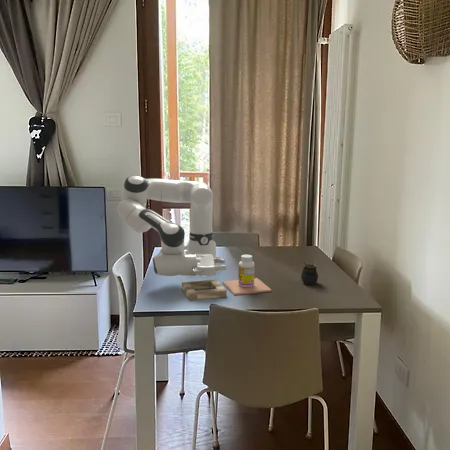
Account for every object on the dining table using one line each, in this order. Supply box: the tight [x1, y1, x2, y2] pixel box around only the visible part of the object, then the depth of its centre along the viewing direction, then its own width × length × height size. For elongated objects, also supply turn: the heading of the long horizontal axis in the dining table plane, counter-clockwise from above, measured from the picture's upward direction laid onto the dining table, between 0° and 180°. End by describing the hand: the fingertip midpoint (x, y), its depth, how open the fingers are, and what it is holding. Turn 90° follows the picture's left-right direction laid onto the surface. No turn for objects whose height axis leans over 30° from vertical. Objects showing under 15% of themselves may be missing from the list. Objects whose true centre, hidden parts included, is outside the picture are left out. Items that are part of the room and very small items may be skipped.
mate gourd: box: [300, 262, 319, 285], centre depth 204 cm, size 7×8×10 cm
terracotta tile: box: [222, 277, 272, 296], centre depth 199 cm, size 16×16×1 cm
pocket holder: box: [181, 278, 228, 301], centre depth 193 cm, size 15×15×2 cm
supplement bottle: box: [238, 254, 256, 287], centre depth 198 cm, size 7×7×13 cm
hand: (225, 264), depth 197 cm, fingers open, 8 cm apart
